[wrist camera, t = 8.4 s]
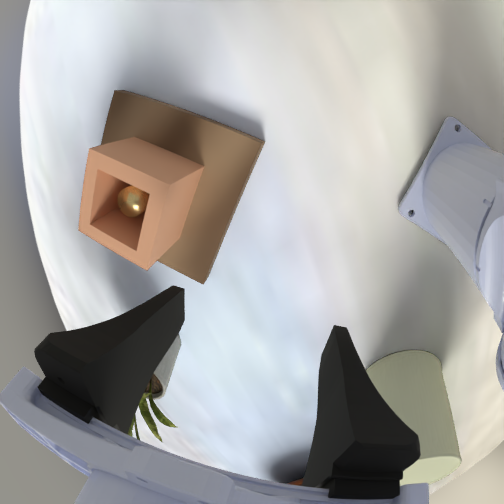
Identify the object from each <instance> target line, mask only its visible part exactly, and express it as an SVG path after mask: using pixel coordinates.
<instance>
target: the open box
mask: <svg viewBox="0 0 504 504" xmlns="http://www.w3.org/2000/svg"><path fill="white" fill-rule="evenodd" d="M204 167H205V166H203V165H200V164H198V163H196V162H193V161H191V160H189V159H187V158H184V157H182V156H180V155H177V154H175V153H173V152H170V151H168V150H165V149H163V148H161V147H158V146H156V145H153V144H151V143H149V142H146V141H144V140H141V139H139V138H136V137H132V138H127V139H123V140H119V141H115V142H111V143H107V144H104V145H100V146H96V147H93V148H89V153H88V158H87V164H86V170H85V176H84V183H83V191H82V199H81V207H80V217H79V229H78V231H80V232H82V233H83V234H85V235H87V236H88V237H90V238H91V239H93V240H95V241H96V242H98V243H100V244H101V245H103V246H105V247H107V248H108V249H110V250H112V251H113V252H115V253H117V254H118V255H120V256H122V257H124V258H125V259H127V260H129V261H131V262H132V263H134V264H136V265H138V266H140V267H141V268H143V269H145V270H148V269H149V268H150V267H151V266H152V265H153V264H154V263H155V262H156V261H157V260H158V259H159V258H160V257H161V256H162V255H163V254H164V253H165V252H166V251H167V250H168V249H169V248H170V247H171V246H172V245H173V244H174V243H175V242H176V241H177V240H178V239H179V238H180V236H181V233H182V230H183V227H184V224H185V221H186V218H187V215H188V212H189V209H190V206H191V203H192V200H193V197H194V194H195V191H196V189H197V186H198V183H199V180H200V177H201V175H202V172H203V169H204ZM130 185H132V186H134V187H136V188H139V189H141V190H143V191H145V192H147V193H149V194H150V196H149V200H148V204H147V208H146V211H144V212H143V213H141V214H139V215H138V216H136V217H128V216H126V215H124V214H123V213H122V212H121V210H120V208H119V206H118V195H119V193H120V191H121V190H123V189H124V188H126V187H128V186H130Z"/></svg>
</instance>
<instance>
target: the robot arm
mask: <svg viewBox="0 0 504 504" xmlns="http://www.w3.org/2000/svg"><path fill="white" fill-rule="evenodd" d="M456 125H458V127H459V130H458V131H456V130H455V126H456ZM410 210H413V214H412V215H408V212H409V211H410ZM398 211H399V213H400V214H401V215H402V216H403V217H405V218H407V219H408V220H410V221H411V222H413V223H414V224H416V225H418V226H419V227H421V228H422V229H424V230H425V231H427V232H428V233H430V234H431V235H433V236H434V237H436V238H437V239H439V240H440V241H442V242H443V243H444V244H446V245H447V246H448V247H449V248H450V249H451V251H452V252H453V253H454V255H455V256H456V257H457V259H458V260H459V262H460V263H461V264H462V266H463V267H464V269H465V270H466V271H467V273H468V274H469V276H470V277H471V279H472V280H473V282H474V283H475V285H476V286H477V288H478V289H479V291H480V292H481V294H482V295H483V297H484V298H485V300H486V302H487V303H488V305H489V306H490V307H491V308H492V310H493V311H494V319H495V321H496V323H497V325H498V326H499V328H500V330H501V332H502V333H503V335H502V338H501V341H500V344H499V346H498V350H497V354H496V372H497V376H498V380H499V382H500V385H501V387H502V389H503V391H504V154H502V153H499V152H496V151H494V150H492V149H491V148H490V147H489V146H487V145H486V144H485V143H484V142H483V141H482V140H481V139H480V138H479V137H477V136H476V135H475V134H474V133H473V132H472V131H470V130H469V129H468V128H467V127H466V126H464V125H463V124H462V123H461V122H459V121H458V120H457V119H456V118H454V117H447V118H446V119H445V121H444V123H443V125H442V127H441V129H440V131H439V133H438V135H437V137H436V139H435V141H434V143H433V145H432V147H431V149H430V151H429V152H428V154H427V156H426V158H425V160H424V162H423V164H422V166H421V167H420V169H419V171H418V173H417V175H416V176H415V178H414V180H413V182H412V184H411V185H410V187H409V189H408V191H407V192H406V194H405V196H404V197H403V199H402V201H401V202H400V204H399V206H398ZM184 320H185V312H184V288H180V287H177V286H171V287H170V288H168V289H166V290H165V291H163V292H161V293H160V294H158V295H156V296H155V297H153V298H151V299H150V300H148V301H146V302H145V303H143V304H141V305H139V306H137V307H135V308H134V309H132V310H130V311H128V312H126V313H124V314H122V315H119V316H117V317H115V318H112V319H110V320H107V321H104V322H101V323H98V324H95V325H92V326H88V327H84V328H80V329H75V330H70V331H63V332H55V333H50V334H49V335H48V336H47V337H46V338H45V339H44V340H43V341H42V342H41V343H40V344H39V345H38V346H37V347H36V348H35V351H34V352H35V357H36V359H37V362H38V363H39V365H40V367H41V369H42V371H43V373H44V374H45V376H46V377H45V378H44V380H43V381H42V380H41V379H40V378H39V377H38V376H37V375H36V374H34V373H33V372H31V371H30V370H29V369H27V368H26V367H24V366H23V367H22V369H21V370H20V371H19V372H18V373H17V374H16V375H15V377H14V378H13V379H12V380H11V381H10V382H9V383H8V385H7V386H6V387H5V388H4V389H3V391H2V392H1V393H0V404H1V405H2V406H3V407H4V408H5V410H6V411H7V412H8V413H9V414H10V415H11V417H12V418H13V419H14V420H15V421H16V422H17V423H18V425H20V426H21V427H22V428H23V429H25V431H27V432H28V433H29V434H30V435H32V436H33V437H34V438H35V439H36V440H38V441H39V442H40V443H42V444H43V445H44V446H46V447H47V448H48V449H49V450H51V451H52V452H53V453H55V454H56V455H57V456H59V457H60V458H61V459H63V460H64V461H66V462H67V463H69V464H70V465H71V466H73V467H74V468H76V469H77V470H79V471H80V472H82V473H83V474H85V475H87V476H88V477H89V478H88V480H87V481H86V483H85V485H84V487H83V488H82V490H81V492H80V494H79V495H78V497H77V499H76V501H75V502H74V504H429V486H428V483H415V484H405V485H401V486H400V480H402V479H403V471H404V470H405V469H407V468H408V467H410V466H411V465H412V464H414V463H415V462H416V461H417V460H418V459H419V458H420V456H421V452H420V442H419V437H418V435H417V434H416V433H415V432H414V431H413V430H412V429H411V428H410V427H408V426H407V425H406V424H405V423H404V422H403V421H402V420H401V419H400V418H399V417H398V416H397V415H396V414H395V412H394V411H393V410H392V409H391V408H390V407H389V405H388V404H387V403H386V402H385V400H384V399H383V398H382V396H381V395H380V394H379V392H378V391H377V389H376V387H375V386H374V384H373V383H372V381H371V379H370V378H369V376H368V374H367V372H366V370H365V368H364V366H363V364H362V362H361V360H360V358H359V356H358V353H357V351H356V349H355V347H354V344H353V342H352V339H351V337H350V334H349V332H348V329H347V328H346V327H341V326H336V325H334V327H333V329H332V331H331V334H330V336H329V339H328V341H327V343H326V346H325V348H324V350H323V353H322V356H321V362H320V369H319V382H318V408H317V420H316V426H315V431H314V437H313V442H312V447H311V451H310V456H309V460H308V464H307V468H306V471H305V475H304V479H303V482H302V485H301V486H297V485H291V484H284V483H278V482H273V481H267V480H262V479H258V478H253V477H249V476H244V475H240V474H236V473H232V472H228V471H225V470H221V469H217V468H214V467H211V466H207V465H204V464H201V463H198V462H195V461H192V460H189V459H186V458H183V457H180V456H177V455H175V454H172V453H169V452H167V451H164V450H162V449H159V448H157V447H154V446H152V445H149V444H147V443H145V442H142V441H140V440H138V439H136V438H133V437H131V436H129V435H127V434H128V431H129V428H130V426H131V423H132V420H133V418H134V415H135V413H136V410H137V408H138V405H139V403H140V400H141V398H142V396H143V394H144V392H145V389H146V387H147V385H148V383H149V381H150V379H151V377H152V375H153V373H154V372H155V370H156V368H157V367H158V365H159V364H160V362H161V360H162V359H163V357H164V356H165V354H166V353H167V351H168V350H169V348H170V347H171V345H172V344H173V342H174V340H175V339H176V337H177V335H178V333H179V331H180V329H181V327H182V325H183V323H184Z"/></svg>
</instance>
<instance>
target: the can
mask: <svg viewBox="0 0 504 504" xmlns="http://www.w3.org/2000/svg"><path fill="white" fill-rule="evenodd" d="M366 372H367V374H368V376H369V378H370V379H371V381H372V383H373V384H374V386H375V387H376V389H377V391H378V392H379V394H380V395H381V396H382V398H383V399H384V400H385V402H386V403H387V404H388V405H389V407H390V408H391V409H392V410H393V411H394V412H395V414H396V415H397V416H398V417H399V418H400V419H401V420H402V421H403V422H404V423H405V424H406V425H407V426H408V427H410V428H411V429H412V430H413V431H414V432H415V433H416V434H417V435H418V437H419V442H420V452H421V456H420V458H419V459H418V460H417V461H416V462H415V463H414V464H412V465H411V466H410V467H408V468H407V469H405V470H404V471H403V479H402V480H400V486H401V485H405V484H415V483H428V485H429V484H432V483H434V482H437V481H439V480H441V479H443V478H445V477H446V476H448V475H450V474H451V473H452V472H454V471H455V470H456V469H457V468H458V467H459V466H460V464H461V461H462V459H461V456H460V452H459V446H458V441H457V436H456V431H455V426H454V421H453V417H452V412H451V408H450V403H449V399H448V395H447V391H446V387H445V383H444V379H443V374H442V366H441V363H440V361H439V359H438V358H437V357H436V356H435V355H433V354H431V353H429V352H426V351H421V350H407V351H401V352H397V353H394V354H391V355H388V356H386V357H384V358H382V359H380V360H378V361H376V362H375V363H373V364H372V365H371V366H370V367H369V368H368V369H367V370H366Z"/></svg>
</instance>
